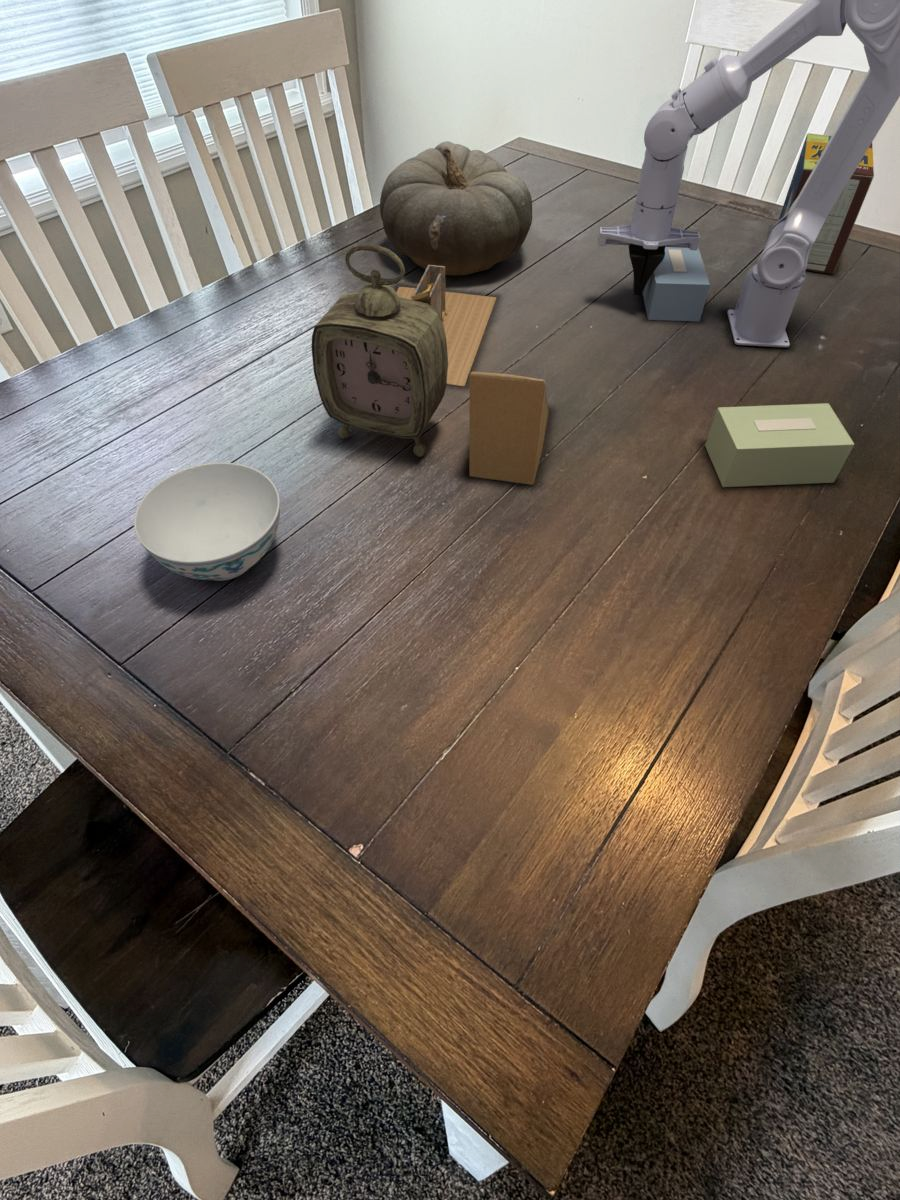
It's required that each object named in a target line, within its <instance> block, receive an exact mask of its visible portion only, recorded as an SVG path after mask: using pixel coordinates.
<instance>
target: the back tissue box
mask: <svg viewBox="0 0 900 1200" xmlns="http://www.w3.org/2000/svg"><path fill="white" fill-rule="evenodd" d="M710 286H711V283H710V279H709V277H708V274H707V270H706V267H705V264H704V260H703V258H702V255H701V251H700V248H699V247H698V248H697V251H696V250H690V249H689V248H676V247H665V257H664V259H663V261H662V262H661V263H660V264H659V266H658V267H657V268H656V269H655V271H654V272H653V274H652V275H651V277H650V278H649V280H648V282H647V284H646V286H645V288H644V291H643V293H642V296H643V302H644V307H645V312H646V318H647V320H648V321H671V322H698V323H699V322H701V318H702V314H703V311H704V307H705V304H706V300H707V298H708V294H709V291H710Z"/></svg>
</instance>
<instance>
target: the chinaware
mask: <svg viewBox="0 0 900 1200" xmlns="http://www.w3.org/2000/svg"><path fill="white" fill-rule="evenodd" d="M280 516H281V499H280V495H279V491H278V488H277V487H276V485H275V484H274V482H273V481H272V480H271V479H270V478H269V477H268V476H267V475H266V474H264V473H263V472H261V471H260V470H258V469H256V468H254V467H251V466H248V465H244V464H241V463H233V462H209V463H204V464H203V463H202V464H198V465H194V466H190V467H188V468H184V469H181V470H179V471H175V472H174V473H172V474H170V475H169V476H166V477H165V478H164V479H162V480H160V481H159V482H158V483H156V484H155V485H153V487H151V489H149V491H148V492H146V494H145V495H144V496H143V497H142V498H141V500H140V502H139V504H138V505H137V508H136V510H135V513H134V518H133V528H134V533H135V536H136V538H137V540H138V541H139V543H140V544H141V546H142V547H143V548H144V550H145V551H146V552H147V553H148V554H149V555H150V556H151V557H152V558H153V559H154V560H156V561H157V562H158V563H159V564H160V565H161V566H163V567H164V568H166V569H168V570H170V571H171V572H173V573H174V574H175V573H176V574H178V575H180V576H183V577H186V578H188V579H189V578H190V579H193V580H200V581H219V582H220V581H229V580H232V579H235V578H238V577H240V576H241V575H243V574H244V573H246V572H247V571H248V570H250V568H251V567H253V566H254V565H256V564H258V562H259V561H260V560H261V559H263V557H264V556H265V555H266V554H267V552H268V551H269V549H270V547H271V546H272V544H273V542H274V540H275V537H276V535H277V531H278V528H279V524H280Z"/></svg>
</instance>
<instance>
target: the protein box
mask: <svg viewBox="0 0 900 1200" xmlns="http://www.w3.org/2000/svg"><path fill="white" fill-rule="evenodd" d="M831 137H832V135H828V134H819V133H809V132H807V133H806V136H805V139H804V142H803V145H802V147H801V150H800V154H799V156H798V160H797V162H796V165H795V168H794V172H793V175H792V178H791V181H790V184H789V187H788V189H787V193H786V196H785V199H784V202H783V205H782V208H781V212H780V214H779V218H778V219H777V221H779V220H780V219H782V218H783V217H784V216H785V215H786V214H787V213H788V211H789V209H790V208H791V206H792V204H793V203H794V201H795V200H796V199H797V197H798V196H799V194H800V192H801V190H802V189H803V187H804V185H805V183H806V181H807V180H808V178H809V176H810V174H811V172H812V171H813V169H814V167H815V165H816V163H817V162H818V160H819V158H820V156H821V155H822V153H823V151H824V149H825V147H826V146H827V144H828V142H829V140H830V138H831ZM874 170H875V169H874V149H873V142H872V143H871V145H870V146H869V148H868V150H867V151H866V153H865V155H864V156H863V158H862V160H861V161H860V163H859V165H858V166H857V168H856V170H855V171H854V173H853V175H852V176H851V178H850V180H849V181H848V183H847V184H846V186H845V188H844V189H843V191H842V193H841V194H840V196H839V198H838V199H837V201H836V203H835V204H834V206H833V208H832V209H831V211H830V213H829V214H828V216H827V218H826V219H825V221H824V224H823V226H822V228H821V230H820V232H819V234H818V236H817V238H816V240H815V242H814V244H813V246H812V247H811V250H810V254H809V257H808V261H807V267H806V270H805V271H808V272H814V273H821V274H829V275H834V274H835V272H836V271H837V267H838V265H839V262H840V261H841V257H842V256H843V253H844V250H845V248H846V245H847V243H848V241H849V239H850V235H851V234H852V231H853V228H854V226H855V223H856V221H857V219H858V216H859V214H860V211H861V210H862V206H863V204H864V202H865V200H866V196H867V194H868V192H869V189H870V188H871V185H872V182H873V180H874V177H875V171H874Z"/></svg>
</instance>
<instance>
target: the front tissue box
mask: <svg viewBox="0 0 900 1200" xmlns="http://www.w3.org/2000/svg"><path fill="white" fill-rule="evenodd" d="M854 446H855V443H854V440H853V439H852V437H851V436H850V435H849V433H848V431H847V430H846V428H845V427H844V425H843V424H842V422H841V420H840V418H839V417H838V416H837V414H836V413H835V411H834V409H833V408H832V406H831V405H830V403H829V402H825V403H823V402H822V403H802V404H800V403H797V404H772V405H771V404H770V405H747V406H745V405H744V406H720V407H717V408H716V412H715V415H714V417H713V421H712V424H711V427H710V430H709V433H708V435H707V439H706V441H705V444H704V447H705V449H706V451H707V455H708V456H709V459H710V461H711V463H712V466H713V468H714V470H715V472H716V475H717V478H718V480H719V482H720V484H721V487H722V488H736V487H758V486H759V487H760V486H761V487H762V486H763V487H765V486H785V485H786V486H787V485H788V486H789V485H809V484H811V485H812V484H832V483H835V482H836V480H837V478H838V476H839V474H840V472H841V471H842V470H843V467H844V465H845V463H846V461H847V459H848V457H849V456H850V454H851V452H852V450H853V448H854Z"/></svg>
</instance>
